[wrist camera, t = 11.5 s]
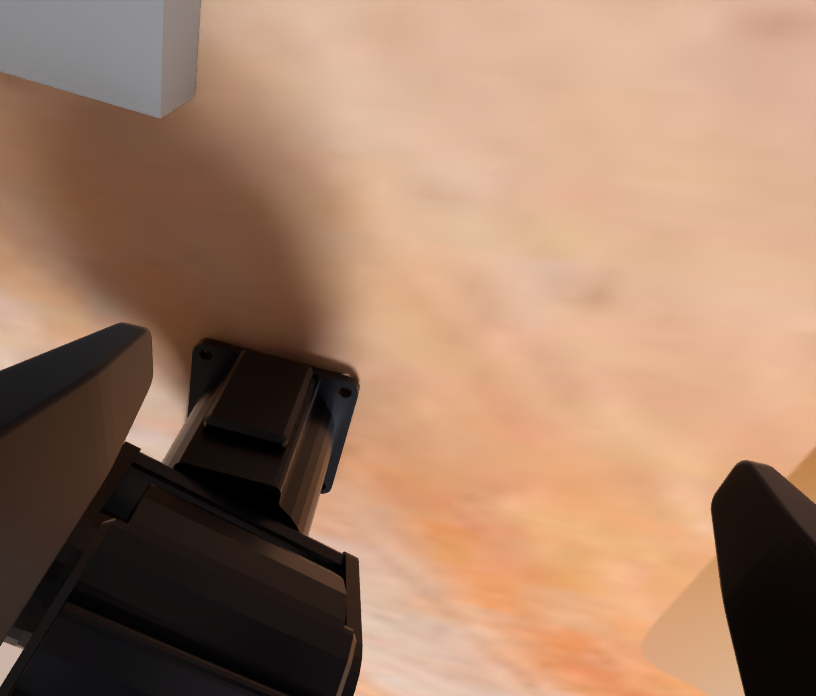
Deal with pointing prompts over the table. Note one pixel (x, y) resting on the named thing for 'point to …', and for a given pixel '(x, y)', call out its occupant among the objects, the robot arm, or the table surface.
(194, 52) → the gray and yellow box
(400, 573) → the table surface
